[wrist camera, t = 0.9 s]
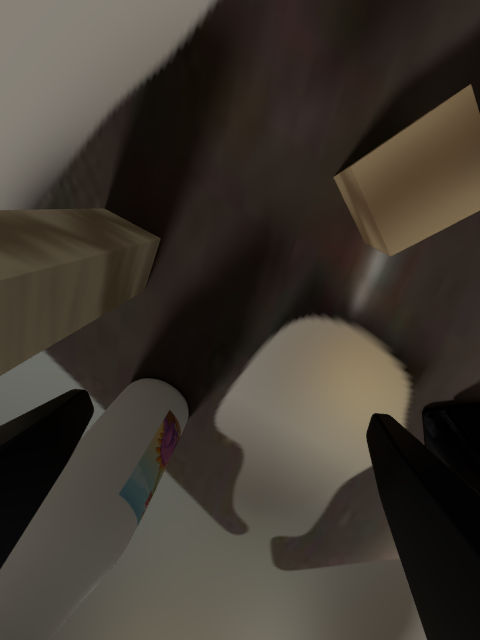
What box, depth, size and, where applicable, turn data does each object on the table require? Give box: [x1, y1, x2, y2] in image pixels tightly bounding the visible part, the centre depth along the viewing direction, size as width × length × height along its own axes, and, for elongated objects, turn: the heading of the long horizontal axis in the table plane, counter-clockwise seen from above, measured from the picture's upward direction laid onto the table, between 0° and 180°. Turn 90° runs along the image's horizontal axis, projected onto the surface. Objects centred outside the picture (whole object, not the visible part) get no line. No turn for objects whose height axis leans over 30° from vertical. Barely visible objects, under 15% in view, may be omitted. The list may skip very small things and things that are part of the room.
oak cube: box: [334, 84, 480, 256], centre depth 14 cm, size 5×5×5 cm
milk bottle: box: [0, 378, 189, 640], centre depth 19 cm, size 8×8×20 cm
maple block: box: [0, 209, 161, 376], centre depth 15 cm, size 5×5×13 cm
